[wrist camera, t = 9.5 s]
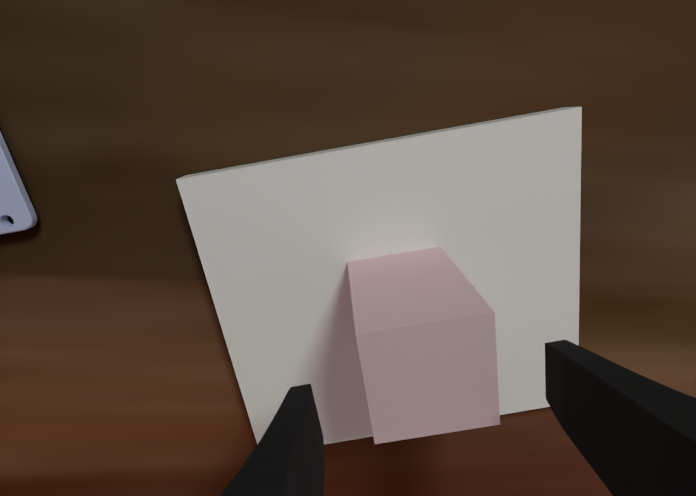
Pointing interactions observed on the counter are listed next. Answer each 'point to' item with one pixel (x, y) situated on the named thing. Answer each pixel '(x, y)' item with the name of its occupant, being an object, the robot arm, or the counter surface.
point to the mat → (391, 252)
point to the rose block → (423, 346)
